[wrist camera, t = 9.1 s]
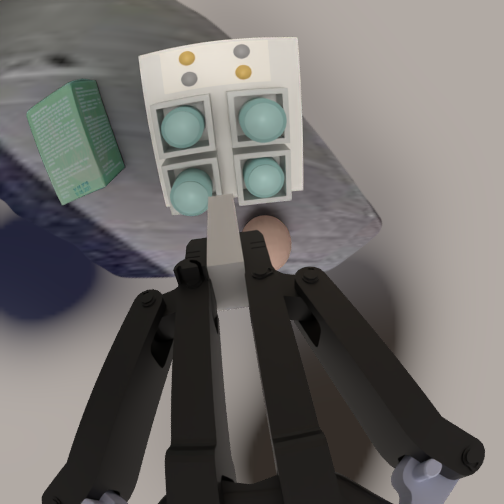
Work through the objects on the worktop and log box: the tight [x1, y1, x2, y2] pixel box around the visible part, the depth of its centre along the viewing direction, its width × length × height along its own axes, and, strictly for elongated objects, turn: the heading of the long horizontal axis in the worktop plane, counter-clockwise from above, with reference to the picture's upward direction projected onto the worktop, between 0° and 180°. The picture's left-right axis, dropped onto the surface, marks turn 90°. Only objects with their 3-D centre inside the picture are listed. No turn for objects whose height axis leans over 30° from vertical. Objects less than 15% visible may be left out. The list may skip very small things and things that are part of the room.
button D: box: [243, 157, 284, 198], centre depth 31 cm, size 4×4×3 cm
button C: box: [238, 97, 287, 143], centre depth 25 cm, size 4×4×3 cm
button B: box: [170, 168, 213, 216], centre depth 28 cm, size 4×4×3 cm
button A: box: [161, 105, 205, 148], centre depth 26 cm, size 4×4×3 cm
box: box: [27, 79, 125, 205], centre depth 25 cm, size 7×14×8 cm, turn 13°
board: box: [139, 37, 303, 215], centre depth 28 cm, size 20×18×6 cm
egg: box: [242, 215, 291, 270], centre depth 36 cm, size 7×7×9 cm
